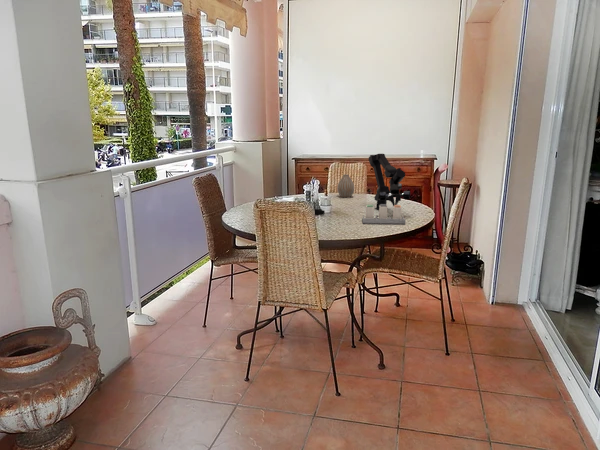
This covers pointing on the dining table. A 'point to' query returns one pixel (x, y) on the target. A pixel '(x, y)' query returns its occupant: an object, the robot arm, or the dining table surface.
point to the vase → (345, 186)
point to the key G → (369, 211)
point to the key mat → (385, 223)
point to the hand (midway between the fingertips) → (394, 207)
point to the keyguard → (383, 220)
